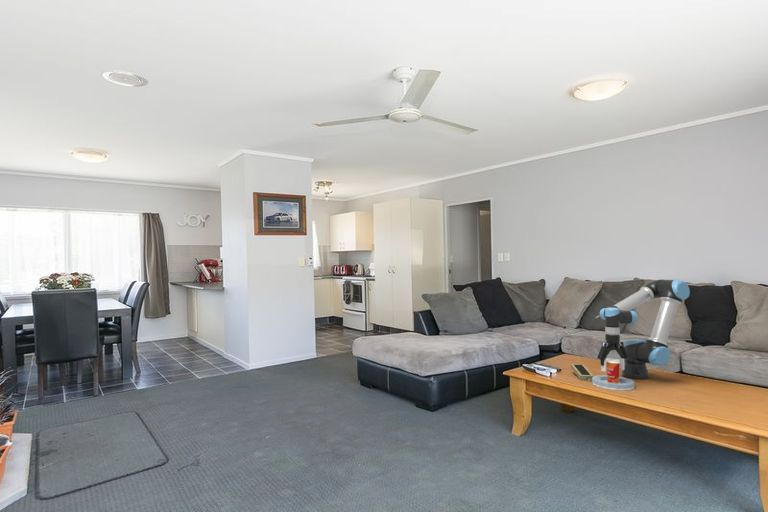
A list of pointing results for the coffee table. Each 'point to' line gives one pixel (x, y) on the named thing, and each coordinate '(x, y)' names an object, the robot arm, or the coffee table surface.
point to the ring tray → (621, 385)
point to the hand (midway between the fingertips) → (613, 370)
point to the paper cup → (612, 370)
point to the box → (582, 372)
